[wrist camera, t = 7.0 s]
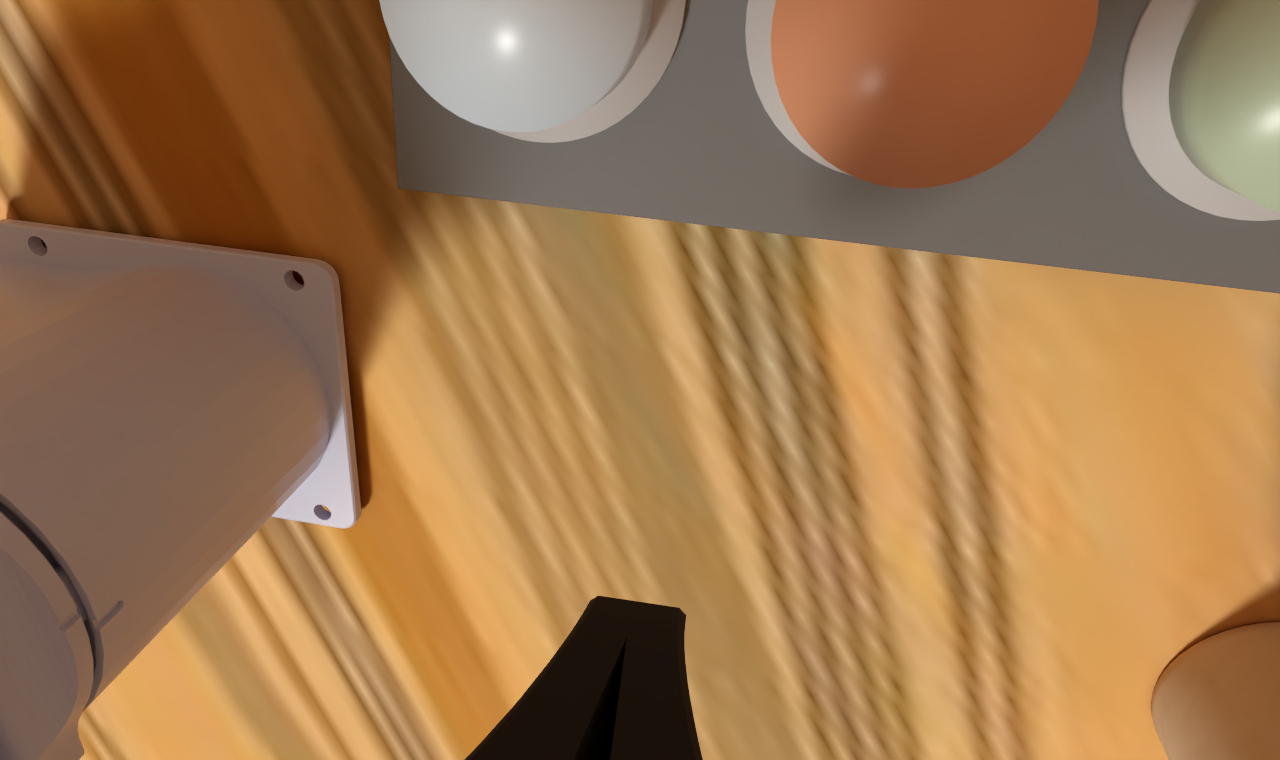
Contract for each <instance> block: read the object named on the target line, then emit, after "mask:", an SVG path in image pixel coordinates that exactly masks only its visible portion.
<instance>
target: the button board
mask: <svg viewBox="0 0 1280 760" xmlns="http://www.w3.org/2000/svg"><path fill="white" fill-rule="evenodd" d="M1201 2H1202V0H1099V5H1098V14H1097V23H1096V28H1095V32H1094V36H1093V41H1092V45H1091V48H1090V51H1089V54H1088V57H1087V59H1086V62H1085V65H1084V67H1083V70H1082V72H1081V74H1080V76H1079V78H1078V80H1077V82H1076V84H1075V86H1074V88H1073V90H1072V91H1071V93H1070V94H1069V96H1068V97H1067V99H1066V100H1065V102H1064V103H1063V105H1062V106H1061V108H1060V109H1059V111H1058V112H1057V113H1056V114H1055V115H1054V117H1053V118H1052V119H1051V120H1050V121H1049V123H1048V124H1047V125H1046V126H1045V127H1044V128H1043V129H1042V130H1041V131H1040V132H1039V133H1038V134H1037V135H1036V136H1035V137H1034V138H1033V139H1032V140H1031V141H1030V142H1029V143H1028V144H1026V145H1025V146H1024V147H1022V148H1021V149H1020V150H1019V151H1017V152H1016V153H1015V154H1013V155H1012V156H1011V157H1009V158H1007V159H1006V160H1004V161H1002V162H1001V163H999V164H998V165H996V166H994V167H993V168H990V169H988V170H986V171H984V172H982V173H980V174H977V175H975V176H973V177H970V178H967V179H964V180H961V181H958V182H955V183H951V184H946V185H941V186H936V187H927V188H915V189H913V188H894V187H888V186H883V185H877V184H873V183H870V182H867V181H864V180H861V179H858V178H856V177H854V176H852V175H849V174H847V173H845V172H843V171H841V170H840V169H838V168H837V167H835V166H834V165H832V164H830V163H829V162H827V161H826V160H825V159H824V158H822V157H821V156H820V155H819V154H818V153H817V152H816V151H815V150H813V149H812V148H811V147H810V145H809V144H808V143H807V142H806V141H805V140H804V138H803V137H802V136H801V135H800V134H799V132H798V131H797V129H796V127H795V126H794V124H793V123H792V121H791V120H790V118H789V116H788V114H787V112H786V110H785V107H784V105H783V103H782V101H781V98H780V95H779V92H778V88H777V85H776V82H775V77H774V71H773V66H772V56H771V30H772V18H773V13H774V8H775V3H776V0H653V8H652V15H651V21H650V25H649V29H648V33H647V37H646V39H645V42H644V44H643V47H642V49H641V52H640V54H639V56H638V58H637V59H636V61H635V63H634V65H633V67H632V68H631V70H630V71H629V72H628V74H627V75H626V77H625V78H624V79H623V81H622V82H621V83H620V84H619V85H618V86H617V87H616V88H615V89H614V90H613V91H612V92H611V93H610V94H608V95H607V96H606V97H605V98H603V99H602V100H601V101H600V102H598V103H597V104H595V105H593V106H592V107H590V108H589V109H587V110H586V111H584V112H583V113H581V114H579V115H578V116H576V117H574V118H572V119H571V120H569V121H567V122H564V123H562V124H560V125H557V126H555V127H551V128H547V129H543V130H539V131H532V132H504V131H499V130H493V129H489V128H485V127H482V126H479V125H476V124H473V123H471V122H469V121H467V120H465V119H463V118H461V117H459V116H457V115H456V114H454V113H452V112H451V111H449V110H448V109H446V108H444V107H443V106H442V105H441V104H440V103H438V102H437V101H436V100H435V99H433V98H432V97H431V96H430V95H429V94H428V93H427V92H426V91H425V90H424V89H423V88H422V87H421V86H420V85H419V84H418V82H417V81H416V80H415V78H414V77H413V76H412V75H411V73H410V72H409V71H408V69H407V68H406V66H405V65H404V63H403V61H402V60H401V58H400V56H399V55H398V53H397V51H396V49H395V47H394V45H393V42H392V40H391V38H390V36H389V42H390V59H391V77H392V94H393V111H394V128H395V145H396V162H397V179H398V188H399V189H407V190H416V191H424V192H432V193H441V194H449V195H458V196H466V197H474V198H483V199H491V200H500V201H508V202H516V203H525V204H533V205H542V206H550V207H558V208H567V209H575V210H583V211H592V212H600V213H609V214H617V215H625V216H634V217H642V218H651V219H659V220H667V221H676V222H684V223H693V224H701V225H709V226H718V227H726V228H735V229H743V230H751V231H760V232H768V233H776V234H785V235H793V236H802V237H810V238H818V239H827V240H835V241H844V242H852V243H860V244H869V245H877V246H886V247H894V248H902V249H911V250H919V251H928V252H936V253H944V254H953V255H961V256H969V257H978V258H986V259H995V260H1003V261H1011V262H1020V263H1028V264H1037V265H1045V266H1053V267H1062V268H1070V269H1079V270H1087V271H1095V272H1104V273H1112V274H1121V275H1129V276H1137V277H1146V278H1154V279H1163V280H1171V281H1179V282H1188V283H1196V284H1204V285H1213V286H1221V287H1230V288H1238V289H1246V290H1255V291H1263V292H1272V293H1280V213H1279V212H1276V211H1273V210H1271V209H1269V208H1267V207H1265V206H1263V205H1261V204H1259V203H1256V202H1254V201H1252V200H1250V199H1248V198H1246V197H1244V196H1242V195H1240V194H1237V193H1235V192H1233V191H1231V190H1229V189H1227V188H1225V187H1223V186H1221V185H1219V184H1217V183H1215V182H1214V181H1212V180H1211V179H1210V178H1208V177H1207V176H1205V175H1204V174H1203V173H1202V172H1201V171H1200V170H1199V169H1198V168H1197V167H1195V166H1194V165H1193V164H1192V162H1191V161H1190V160H1189V158H1188V157H1187V155H1186V154H1185V153H1184V151H1183V150H1182V148H1181V146H1180V144H1179V142H1178V140H1177V138H1176V135H1175V132H1174V128H1173V125H1172V122H1171V116H1170V109H1169V82H1170V76H1171V69H1172V65H1173V61H1174V58H1175V54H1176V50H1177V47H1178V45H1179V43H1180V40H1181V38H1182V35H1183V33H1184V31H1185V29H1186V27H1187V25H1188V23H1189V21H1190V19H1191V18H1192V16H1193V14H1194V12H1195V10H1196V9H1197V8H1198V6H1199V5H1200V3H1201Z"/></svg>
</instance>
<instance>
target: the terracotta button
mask: <svg viewBox="0 0 1280 760" xmlns="http://www.w3.org/2000/svg"><path fill="white" fill-rule="evenodd" d="M1098 5H1099V0H776V3H775V8H774V13H773V18H772V30H771V56H772V66H773V71H774V77H775V82H776V85H777V88H778V92H779V95H780V98H781V101H782V103H783V105H784V107H785V110H786V112H787V114H788V116H789V118H790V120H791V121H792V123H793V124H794V126H795V127H796V129H797V131H798V132H799V134H800V135H801V136H802V137H803V138H804V140H805V141H806V142H807V143H808V144H809V145H810V147H811V148H812V149H813V150H815V151H816V152H817V153H818V154H819V155H820V156H821V157H822V158H824V159H825V160H826V161H827V162H829V163H830V164H832V165H834V166H835V167H837V168H838V169H840V170H841V171H843V172H845V173H847V174H849V175H852V176H854V177H856V178H858V179H861V180H864V181H867V182H870V183H873V184H877V185H883V186H888V187H894V188H913V189H915V188H927V187H936V186H941V185H946V184H951V183H955V182H958V181H961V180H964V179H967V178H970V177H973V176H975V175H977V174H980V173H982V172H984V171H986V170H988V169H990V168H993V167H994V166H996V165H998V164H999V163H1001V162H1002V161H1004V160H1006V159H1007V158H1009V157H1011V156H1012V155H1013V154H1015V153H1016V152H1017V151H1019V150H1020V149H1021V148H1022V147H1024V146H1025V145H1026V144H1028V143H1029V142H1030V141H1031V140H1032V139H1033V138H1034V137H1035V136H1036V135H1037V134H1038V133H1039V132H1040V131H1041V130H1042V129H1043V128H1044V127H1045V126H1046V125H1047V124H1048V123H1049V121H1050V120H1051V119H1052V118H1053V117H1054V115H1055V114H1056V113H1057V112H1058V111H1059V109H1060V108H1061V106H1062V105H1063V103H1064V102H1065V100H1066V99H1067V97H1068V96H1069V94H1070V93H1071V91H1072V90H1073V88H1074V86H1075V84H1076V82H1077V80H1078V78H1079V76H1080V74H1081V72H1082V70H1083V67H1084V65H1085V62H1086V59H1087V57H1088V54H1089V51H1090V48H1091V45H1092V41H1093V36H1094V32H1095V28H1096V23H1097V14H1098Z"/></svg>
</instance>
